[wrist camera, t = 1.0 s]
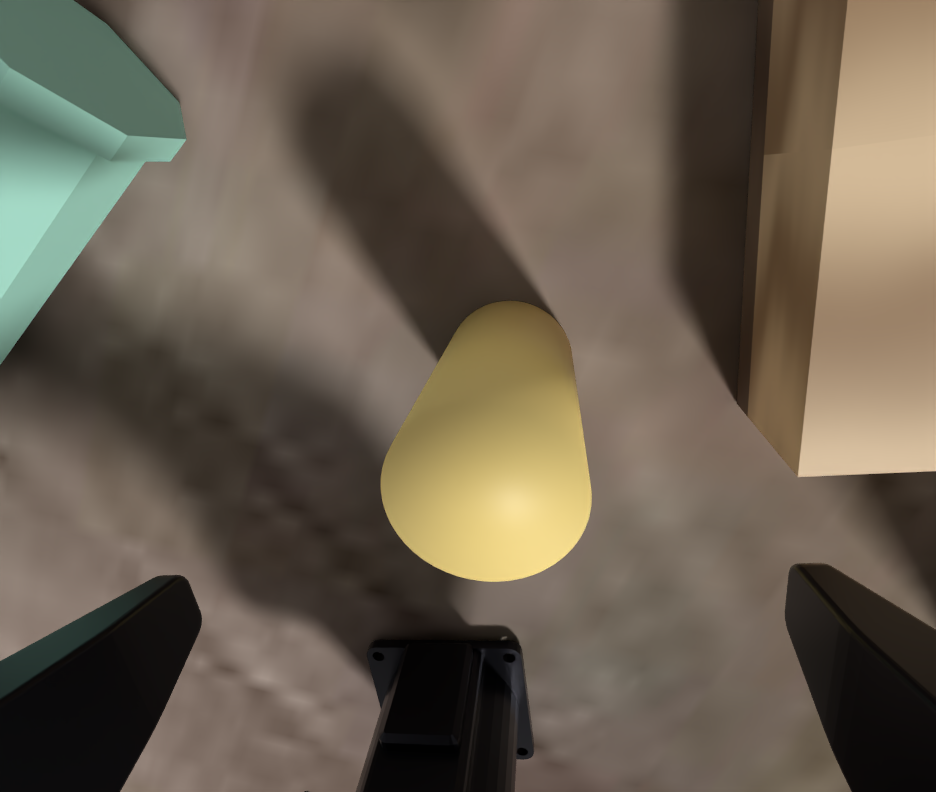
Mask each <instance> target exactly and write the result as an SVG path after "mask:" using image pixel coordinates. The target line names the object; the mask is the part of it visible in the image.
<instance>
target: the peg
mask: <svg viewBox="0 0 936 792" xmlns="http://www.w3.org/2000/svg"><path fill="white" fill-rule="evenodd" d="M381 495H382V502H383V505H384V508H385V512H386V514H387V517H388V519H389V521H390V523H391V525H392V526H393V528H394V530H395V531H396V533H397V534H398V536H399V537H400V538H401V539H402V541H403V542H404V543H405V544H406V545H407V546H408V547H409V548H410V549H411V550H412V551H413V552H414V553H415V554H417V555H418V556H419V557H421V558H422V559H423V560H425V561H426V562H428V563H429V564H431V565H433V566H434V567H436V568H438V569H441V570H443V571H445V572H447V573H450V574H453V575H455V576H459V577H463V578H467V579H471V580H478V581H491V582H498V581H510V580H516V579H521V578H524V577H528V576H531V575H534V574H536V573H539V572H541V571H543V570H545V569H547V568H549V567H550V566H552V565H554V564H555V563H557V562H558V561H559V560H561V559H562V558H563V557H564V556H565V555H566V554H567V553H568V552H569V551H570V550H571V549H572V548H573V547H574V546H575V544H576V543H577V542H578V540H579V539H580V537H581V535H582V533H583V531H584V530H585V528H586V525H587V522H588V519H589V515H590V510H591V497H592V492H591V485H590V478H589V471H588V464H587V457H586V450H585V443H584V436H583V429H582V422H581V415H580V408H579V401H578V394H577V387H576V380H575V373H574V366H573V359H572V352H571V347H570V343H569V340H568V338H567V336H566V334H565V332H564V330H563V329H562V327H561V326H560V325H559V323H558V322H557V321H556V320H555V319H554V318H553V317H552V316H551V315H550V314H548V313H547V312H545V311H544V310H542V309H540V308H538V307H536V306H534V305H531V304H528V303H524V302H520V301H500V302H494V303H491V304H488V305H485V306H483V307H481V308H479V309H477V310H476V311H474V312H473V313H471V314H470V315H469V316H468V317H467V318H466V319H465V320H464V321H463V322H462V323H461V324H460V326H459V327H458V329H457V330H456V332H455V334H454V336H453V337H452V339H451V341H450V343H449V344H448V346H447V348H446V350H445V351H444V353H443V355H442V357H441V358H440V360H439V362H438V364H437V365H436V367H435V369H434V371H433V372H432V374H431V376H430V378H429V379H428V381H427V383H426V385H425V386H424V388H423V390H422V392H421V393H420V395H419V397H418V399H417V400H416V402H415V404H414V406H413V407H412V409H411V411H410V413H409V415H408V416H407V418H406V420H405V422H404V423H403V425H402V427H401V429H400V430H399V432H398V434H397V436H396V437H395V439H394V441H393V443H392V444H391V446H390V448H389V450H388V452H387V454H386V457H385V460H384V463H383V467H382V473H381Z"/></svg>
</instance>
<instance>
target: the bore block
mask: <svg viewBox="0 0 936 792" xmlns="http://www.w3.org/2000/svg"><path fill="white" fill-rule="evenodd" d="M737 404H738V405H739V407H740V408H741V409H742V410H743V412H744V413H745V414H746V415H747V416H748V418H749V419H750V420H751V421H752V422H753V424H754V425H755V426H756V427H757V428H758V430H759V431H760V432H761V433H762V434H763V436H764V437H765V438H766V439H767V440H768V442H769V443H770V444H771V445H772V446H773V448H774V449H775V450H776V451H777V452H778V454H779V455H780V456H781V457H782V458H783V460H784V461H785V462H786V463H787V464H788V466H789V467H790V468H791V469H792V470H793V472H794V473H795V474H796V475H797V477H809V476H832V475H855V474H879V473H902V472H926V471H936V0H758V18H757V37H756V55H755V74H754V93H753V111H752V130H751V148H750V167H749V185H748V204H747V222H746V241H745V259H744V278H743V296H742V315H741V333H740V352H739V371H738V389H737Z"/></svg>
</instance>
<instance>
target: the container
mask: <svg viewBox="0 0 936 792" xmlns="http://www.w3.org/2000/svg"><path fill="white" fill-rule="evenodd" d="M185 141H186V134H185V129H184V124H183V118H182V113H181V108H180V103H179V102H178V101H177V100H176V98H175V97H174V96H173V95H172V94H171V93H170V92H169V91H168V90H167V89H166V88H165V87H164V85H163V84H162V83H161V82H160V81H159V80H158V79H157V78H156V77H155V76H154V75H153V74H152V72H151V71H150V70H149V69H148V68H147V67H146V66H145V65H144V64H143V63H142V62H141V60H140V59H139V58H138V57H137V56H136V55H135V54H134V53H133V52H132V51H131V50H130V49H129V47H128V46H127V45H126V44H125V43H124V42H123V41H122V40H121V39H120V38H119V37H118V36H117V34H116V33H115V32H114V31H113V30H112V29H111V28H110V27H109V26H108V25H107V24H106V23H105V22H103V21H102V20H101V19H99V18H98V17H96V16H95V15H94V14H92V13H91V12H89V11H88V10H86V9H85V8H84V7H82V6H81V5H79V4H78V3H77V2H75V1H74V0H0V365H1V363H2V362H3V361H4V359H5V358H6V356H7V355H8V354H9V352H10V351H11V349H12V348H13V347H14V345H15V344H16V342H17V341H18V340H19V338H20V337H21V335H22V334H23V333H24V331H25V330H26V328H27V327H28V326H29V324H30V323H31V321H32V320H33V319H34V317H35V316H36V314H37V313H38V311H39V310H40V309H41V307H42V306H43V304H44V303H45V302H46V300H47V299H48V297H49V296H50V295H51V293H52V292H53V290H54V289H55V288H56V286H57V285H58V283H59V282H60V281H61V279H62V278H63V276H64V275H65V274H66V272H67V271H68V269H69V268H70V267H71V265H72V264H73V262H74V261H75V260H76V258H77V257H78V255H79V254H80V253H81V251H82V250H83V248H84V247H85V246H86V244H87V243H88V241H89V240H90V239H91V237H92V236H93V234H94V233H95V232H96V230H97V229H98V227H99V226H100V225H101V223H102V222H103V220H104V219H105V218H106V216H107V215H108V213H109V212H110V211H111V209H112V208H113V206H114V205H115V204H116V202H117V201H118V199H119V198H120V197H121V195H122V194H123V192H124V191H125V190H126V188H127V187H128V185H129V184H130V183H131V181H132V180H133V178H134V177H135V176H136V174H137V173H138V171H139V170H140V169H141V167H142V166H143V164H144V163H145V162H170V161H171V160H172V158H173V157H174V156H175V154H176V153H177V152H178V150H179V149H180V148H181V146H182V145H183V144H184V142H185Z"/></svg>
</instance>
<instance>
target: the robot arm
mask: <svg viewBox="0 0 936 792" xmlns="http://www.w3.org/2000/svg"><path fill="white" fill-rule="evenodd" d="M785 621H786V626H787V630H788V633H789V635H790V638H791V641H792V644H793V646H794V649H795V652H796V654H797V657H798V660H799V663H800V665H801V668H802V671H803V674H804V676H805V679H806V682H807V684H808V687H809V690H810V693H811V695H812V698H813V701H814V703H815V706H816V709H817V712H818V714H819V717H820V720H821V723H822V725H823V728H824V731H825V733H826V736H827V738H828V741H829V743H830V746H831V749H832V751H833V753H834V755H835V757H836V760H837V762H838V764H839V766H840V768H841V771H842V773H843V775H844V777H845V779H846V781H847V783H848V785H849V787H850V789H851V791H852V792H936V629H934V628H932V627H931V626H929V625H927V624H926V623H924V622H922V621H921V620H919V619H917V618H916V617H914V616H913V615H911V614H909V613H908V612H906V611H904V610H903V609H901V608H899V607H898V606H896V605H894V604H893V603H891V602H890V601H888V600H886V599H885V598H883V597H881V596H880V595H878V594H876V593H875V592H873V591H871V590H870V589H868V588H866V587H865V586H863V585H862V584H860V583H858V582H857V581H855V580H853V579H852V578H850V577H848V576H847V575H845V574H843V573H842V572H840V571H839V570H837V569H835V568H834V567H832V566H830V565H828V564H824V563H801V564H795V565H793V566H792V567H791V568H790V571H789V575H788V585H787V595H786V605H785ZM201 624H202V616H201V612H200V609H199V607H198V604H197V602H196V599H195V597H194V594H193V591H192V589H191V586H190V584H189V582H188V580H187V579H186V578H185V577H184V576H181V575H163V576H157V577H155V578H153V579H151V580H149V581H147V582H145V583H143V584H142V585H140V586H138V587H136V588H134V589H132V590H130V591H129V592H127V593H125V594H123V595H121V596H119V597H118V598H116V599H114V600H112V601H110V602H108V603H107V604H105V605H103V606H101V607H99V608H97V609H96V610H94V611H92V612H90V613H88V614H86V615H84V616H83V617H81V618H79V619H77V620H75V621H73V622H72V623H70V624H68V625H66V626H64V627H62V628H61V629H59V630H57V631H55V632H53V633H51V634H49V635H48V636H46V637H44V638H42V639H40V640H38V641H37V642H35V643H33V644H31V645H29V646H27V647H26V648H24V649H22V650H20V651H18V652H16V653H14V654H13V655H11V656H9V657H7V658H5V659H3V660H2V661H0V792H120V791H121V789H122V787H123V786H124V784H125V782H126V780H127V778H128V777H129V775H130V773H131V771H132V769H133V768H134V766H135V764H136V762H137V760H138V759H139V757H140V755H141V753H142V751H143V750H144V748H145V746H146V744H147V742H148V741H149V739H150V737H151V735H152V733H153V731H154V729H155V727H156V725H157V723H158V721H159V719H160V717H161V715H162V713H163V711H164V709H165V706H166V704H167V702H168V700H169V698H170V695H171V693H172V691H173V689H174V687H175V684H176V682H177V680H178V678H179V676H180V673H181V671H182V669H183V667H184V665H185V662H186V660H187V658H188V656H189V654H190V651H191V649H192V647H193V645H194V643H195V640H196V638H197V636H198V634H199V631H200V628H201ZM379 652H380V653H379ZM507 653H510V654H512V655H509V654H507ZM367 658H368V661H369V665H370V669H371V673H372V676H373V680H374V684H375V688H376V691H377V695H378V699H379V703H380V706H381V712H380V715H379V718H378V721H377V725H376V728H375V731H374V734H373V738H372V741H371V744H370V747H369V751H368V754H367V757H366V760H365V764H364V767H363V770H362V773H361V777H360V780H359V783H358V786H357V790H356V792H515V775H516V759H529V758H531V757H532V756H533V753H534V740H533V732H532V724H531V717H530V709H529V701H528V693H527V685H526V677H525V669H524V661H523V653H522V649H521V646H520V645H519V644H518V643H516V642H513V641H475V640H375V641H373V642H372V643H371V644H370V647H369V649H368V652H367ZM305 792H308V791H305Z"/></svg>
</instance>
